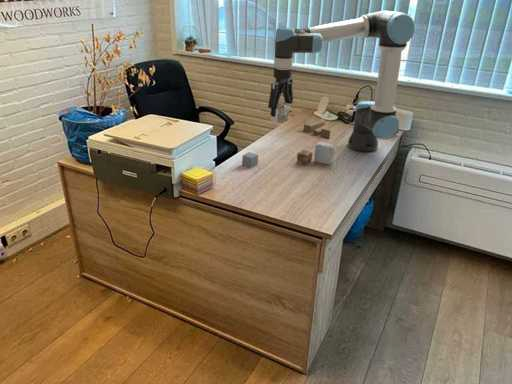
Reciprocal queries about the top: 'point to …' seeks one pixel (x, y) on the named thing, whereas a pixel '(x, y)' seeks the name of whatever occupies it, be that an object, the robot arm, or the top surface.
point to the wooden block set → (318, 128)
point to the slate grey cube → (250, 160)
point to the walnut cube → (304, 157)
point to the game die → (282, 112)
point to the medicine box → (324, 153)
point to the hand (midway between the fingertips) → (280, 120)
